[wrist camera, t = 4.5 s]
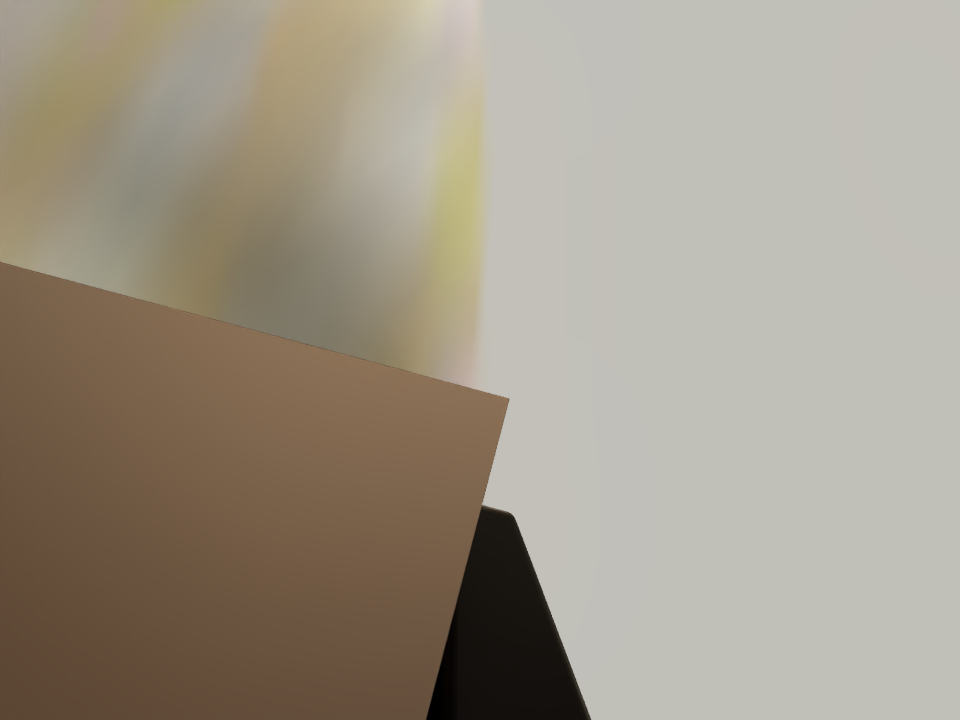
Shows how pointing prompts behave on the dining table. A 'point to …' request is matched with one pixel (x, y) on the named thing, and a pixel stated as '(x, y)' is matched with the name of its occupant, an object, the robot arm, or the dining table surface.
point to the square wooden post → (222, 516)
